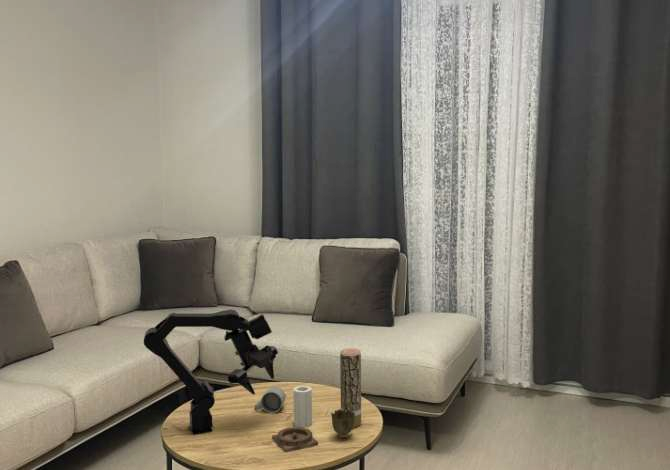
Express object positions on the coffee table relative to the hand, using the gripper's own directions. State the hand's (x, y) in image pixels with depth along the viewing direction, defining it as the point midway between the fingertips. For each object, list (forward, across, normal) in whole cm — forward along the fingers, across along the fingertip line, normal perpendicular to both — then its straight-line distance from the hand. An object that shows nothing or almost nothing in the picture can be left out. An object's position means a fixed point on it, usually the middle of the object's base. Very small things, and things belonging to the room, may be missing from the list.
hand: (263, 386), depth 225 cm
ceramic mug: (+14, +5, +11) cm, 18 cm away
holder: (+15, -8, -15) cm, 22 cm away
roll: (+17, +4, -6) cm, 18 cm away
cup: (+21, +4, -23) cm, 32 cm away
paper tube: (+23, +13, -18) cm, 32 cm away
